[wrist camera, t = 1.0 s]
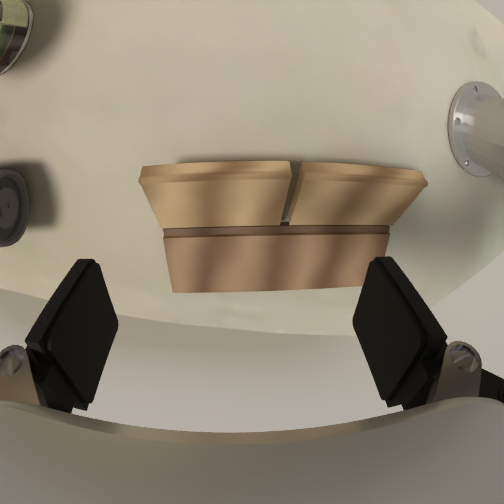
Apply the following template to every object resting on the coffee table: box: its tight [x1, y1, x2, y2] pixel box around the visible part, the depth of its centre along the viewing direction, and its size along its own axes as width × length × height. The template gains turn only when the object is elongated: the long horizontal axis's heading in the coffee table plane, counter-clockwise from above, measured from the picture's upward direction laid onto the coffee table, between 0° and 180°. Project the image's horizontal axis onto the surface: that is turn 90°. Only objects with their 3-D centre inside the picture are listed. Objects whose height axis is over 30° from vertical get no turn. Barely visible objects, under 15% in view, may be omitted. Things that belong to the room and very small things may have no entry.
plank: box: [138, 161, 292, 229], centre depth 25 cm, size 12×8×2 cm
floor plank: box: [163, 222, 390, 293], centre depth 32 cm, size 25×8×2 cm, turn 90°
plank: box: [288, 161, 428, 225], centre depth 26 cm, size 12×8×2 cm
